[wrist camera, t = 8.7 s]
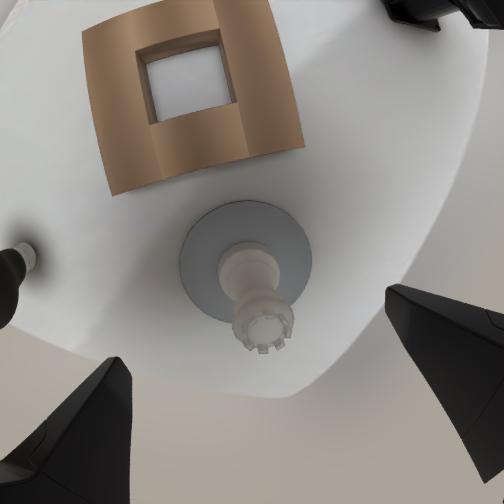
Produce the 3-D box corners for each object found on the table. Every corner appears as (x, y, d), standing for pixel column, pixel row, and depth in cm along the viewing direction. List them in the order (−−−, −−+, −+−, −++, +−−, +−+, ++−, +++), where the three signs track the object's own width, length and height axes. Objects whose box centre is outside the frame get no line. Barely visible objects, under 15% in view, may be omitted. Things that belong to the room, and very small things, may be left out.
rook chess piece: (286, 276, 21) (322, 341, 14) (236, 303, 22) (248, 377, 14) (260, 228, 20) (289, 278, 12) (205, 258, 20) (202, 323, 12)
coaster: (299, 187, 19) (301, 188, 19) (315, 302, 23) (317, 306, 23) (163, 220, 19) (161, 222, 18) (202, 331, 23) (202, 335, 22)
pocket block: (255, 3, 14) (262, -16, 11) (291, 147, 18) (305, 147, 16) (97, 44, 13) (81, 31, 10) (126, 188, 18) (112, 196, 15)
